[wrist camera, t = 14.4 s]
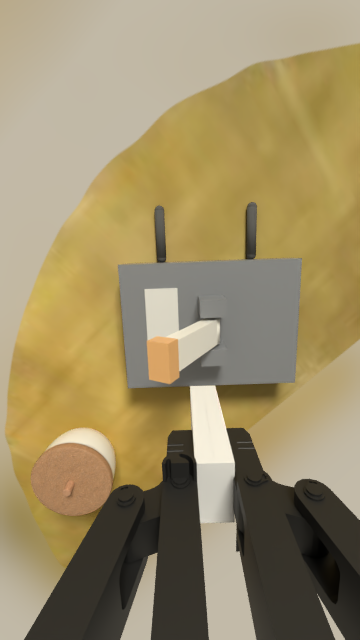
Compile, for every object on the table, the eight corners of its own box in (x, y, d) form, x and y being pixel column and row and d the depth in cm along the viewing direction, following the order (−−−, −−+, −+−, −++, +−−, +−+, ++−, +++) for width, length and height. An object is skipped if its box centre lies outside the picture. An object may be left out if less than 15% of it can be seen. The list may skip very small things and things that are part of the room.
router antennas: (255, 202, 38) (257, 201, 37) (254, 259, 39) (256, 259, 38) (154, 206, 38) (154, 205, 37) (157, 262, 39) (156, 262, 38)
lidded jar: (135, 455, 46) (125, 504, 37) (81, 485, 47) (57, 540, 38) (97, 402, 44) (75, 441, 35) (40, 435, 45) (6, 481, 36)
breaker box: (286, 257, 39) (315, 258, 31) (281, 367, 43) (306, 395, 35) (125, 263, 39) (111, 266, 31) (133, 373, 43) (123, 401, 35)
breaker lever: (223, 315, 34) (168, 344, 24) (224, 344, 35) (170, 384, 25) (207, 313, 35) (146, 340, 25) (207, 341, 36) (149, 379, 26)
